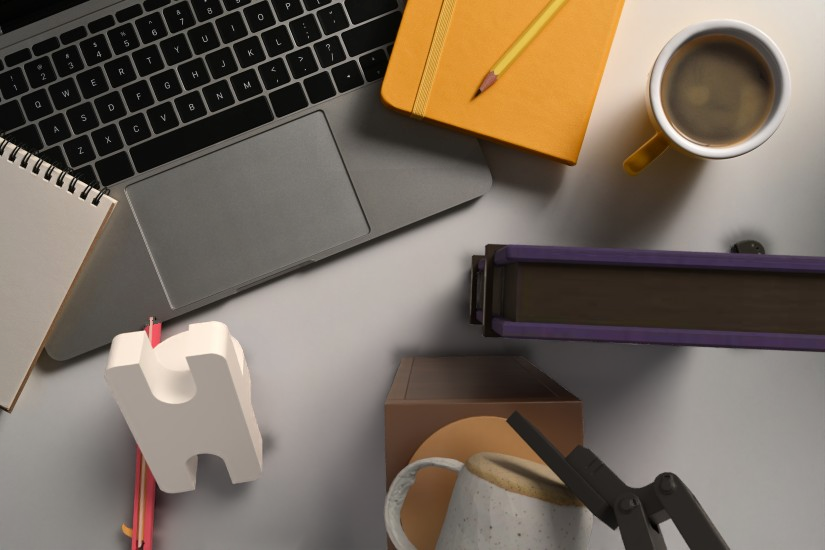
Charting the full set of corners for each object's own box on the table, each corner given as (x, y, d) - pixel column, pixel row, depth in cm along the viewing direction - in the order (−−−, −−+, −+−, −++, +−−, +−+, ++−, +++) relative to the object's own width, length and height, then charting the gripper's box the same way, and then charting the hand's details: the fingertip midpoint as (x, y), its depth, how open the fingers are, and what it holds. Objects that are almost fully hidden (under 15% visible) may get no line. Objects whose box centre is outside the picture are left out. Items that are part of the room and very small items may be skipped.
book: (705, 267, 69) (918, 252, 39) (703, 331, 69) (915, 364, 39) (468, 258, 70) (498, 235, 40) (466, 320, 69) (493, 346, 39)
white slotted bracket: (264, 479, 67) (264, 393, 75) (223, 351, 55) (229, 266, 63) (163, 495, 66) (174, 406, 74) (99, 368, 54) (121, 280, 63)
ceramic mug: (584, 467, 40) (620, 509, 32) (550, 607, 39) (578, 683, 32) (405, 421, 40) (397, 451, 32) (371, 559, 40) (355, 622, 32)
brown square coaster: (582, 590, 43) (589, 604, 41) (389, 592, 43) (387, 605, 41) (577, 396, 43) (584, 401, 41) (385, 399, 44) (383, 404, 42)
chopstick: (168, 562, 68) (118, 563, 67) (171, 553, 70) (122, 555, 69) (180, 318, 69) (130, 316, 68) (183, 317, 71) (135, 315, 70)
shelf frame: (524, 476, 69) (582, 590, 43) (404, 477, 69) (389, 592, 43) (521, 355, 69) (577, 396, 43) (402, 357, 70) (385, 399, 44)
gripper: (643, 1280, 22) (346, 661, 38) (1130, 777, 22) (625, 371, 38) (551, 1432, 17) (253, 642, 33) (1186, 776, 17) (575, 307, 33)
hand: (452, 497), depth 36 cm, fingers closed on ceramic mug, 10 cm apart
